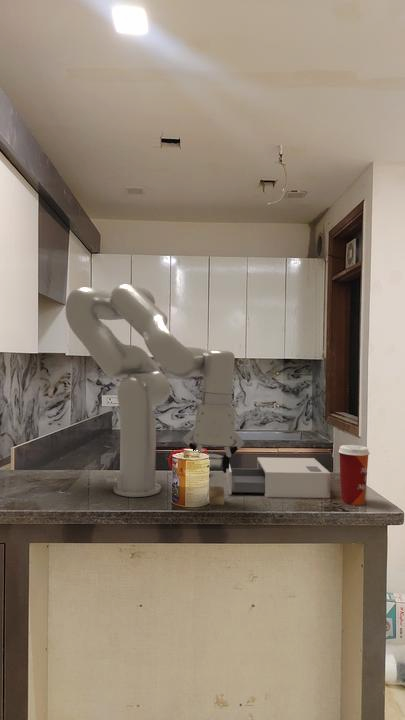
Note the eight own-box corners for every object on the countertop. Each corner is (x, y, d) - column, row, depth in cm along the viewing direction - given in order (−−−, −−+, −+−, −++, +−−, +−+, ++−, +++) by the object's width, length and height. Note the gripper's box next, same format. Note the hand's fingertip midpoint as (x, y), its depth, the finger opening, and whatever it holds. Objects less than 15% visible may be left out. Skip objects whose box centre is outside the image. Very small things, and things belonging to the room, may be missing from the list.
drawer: (227, 494, 124) (228, 471, 124) (224, 478, 140) (224, 458, 140) (292, 495, 124) (292, 472, 124) (281, 479, 140) (282, 459, 140)
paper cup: (371, 507, 115) (372, 450, 115) (338, 505, 117) (339, 449, 117) (366, 498, 123) (367, 445, 123) (336, 496, 125) (337, 443, 125)
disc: (200, 466, 115) (200, 458, 115) (200, 460, 121) (200, 453, 121) (224, 468, 115) (224, 460, 115) (223, 462, 121) (223, 454, 121)
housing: (265, 496, 123) (265, 471, 123) (257, 479, 141) (257, 456, 141) (330, 497, 123) (330, 472, 123) (313, 479, 141) (313, 457, 141)
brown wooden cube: (209, 504, 116) (209, 490, 116) (209, 500, 120) (209, 486, 120) (223, 504, 116) (224, 490, 116) (223, 500, 120) (223, 486, 120)
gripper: (181, 398, 114) (176, 472, 115) (252, 403, 114) (246, 477, 115) (182, 395, 121) (178, 464, 122) (249, 400, 122) (244, 469, 122)
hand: (211, 469), depth 118 cm, fingers closed on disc, 5 cm apart
